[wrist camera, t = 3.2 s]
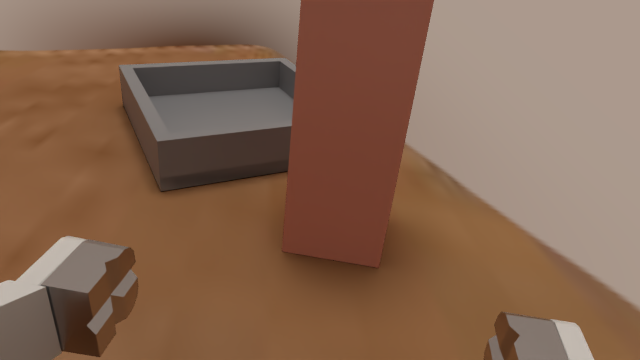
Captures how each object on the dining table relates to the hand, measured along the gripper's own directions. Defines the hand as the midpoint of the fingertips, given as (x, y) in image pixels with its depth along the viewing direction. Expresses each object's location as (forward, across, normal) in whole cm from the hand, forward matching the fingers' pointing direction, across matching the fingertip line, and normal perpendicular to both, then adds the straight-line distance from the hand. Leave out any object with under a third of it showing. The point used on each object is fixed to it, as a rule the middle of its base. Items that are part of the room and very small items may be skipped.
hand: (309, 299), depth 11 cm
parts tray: (+22, +8, +7) cm, 25 cm away
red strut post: (+12, 0, +7) cm, 14 cm away
